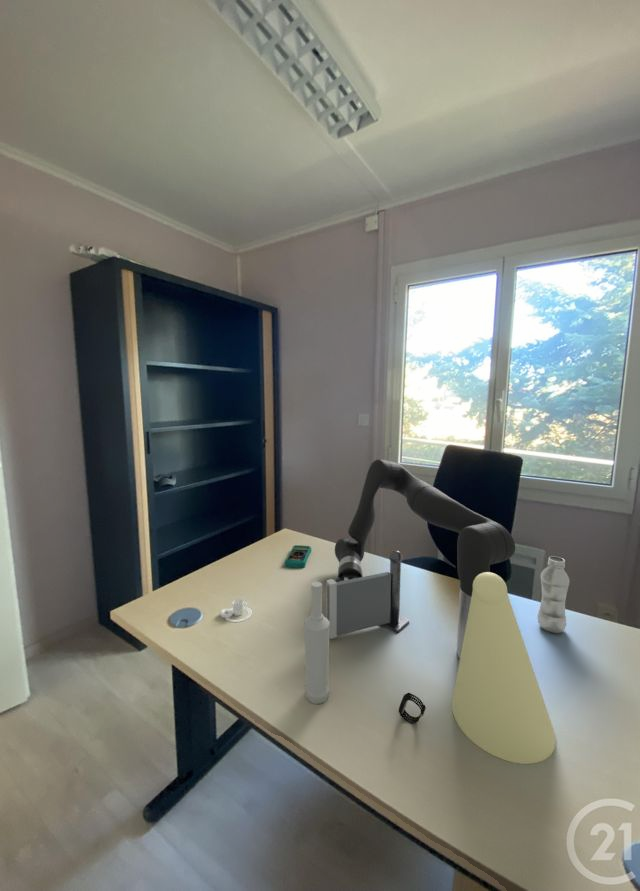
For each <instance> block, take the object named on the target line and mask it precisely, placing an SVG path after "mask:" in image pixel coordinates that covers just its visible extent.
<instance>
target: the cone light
mask: <svg viewBox="0 0 640 891" xmlns="http://www.w3.org/2000/svg"><path fill="white" fill-rule="evenodd" d="M452 695H453V696H452V702H451V710H452V714H453V717H454V719H455V721H456V724H457V726H458V727H459V729H461V731H462V732H463V733H464V735H465V736H467V738H468V739H469V740H470V741H471V742H473V743H474V744H475V745H476V746H478V747H479V748H480V749H481V750H483V751H485V752H486V753H488V754H490V755H492V756H494V757H496V758H498V759H501V760H504V761H506V762H509V763H514V764H524V765H531V764H537V763H541V762H544V761H545V760H548V758H550V756H551V755H552V754H553V753H554V751H555V749H556V744H557V737H556V732H555V730H554V727H553V724H552V720H551V718H550V714H549V712H548V709H547V706H546V702H545V701H544V700H545V699H544V697H543V694H542V691H541V689H540V686H539V682H538V679H537V676H536V673H535V671H534V667H533V665H532V662H531V659H530V656H529V652H528V650H527V648H526V644H525V641H524V639H523V635H522V633H521V630H520V626H519V623H518V621H517V617H516V615H515V612H514V609H513V606H512V604H511V599H510V597H509V595H508V587H507V584H506V582H505V580H504V579H503V578H502V577H501V576H500V575H498V574H496V573H494V572H491V571H490V572H484V573H481V574H479V575H478V576H476V578H475V580H474V581H473V592H472V597H471V603H470V608H469V613H468V619H467V624H466V630H465V635H464V641H463V646H462V651H461V657H460V659H459V662H458V668H457V674H456V680H455V684H454V691H453V694H452Z"/></svg>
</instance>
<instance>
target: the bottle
mask: <svg viewBox="0 0 640 891" xmlns="http://www.w3.org/2000/svg"><path fill="white" fill-rule="evenodd" d="M322 593H323V584H322V582H320V581H314V582H312V583H311V597H312V598H311V611H312V612H311V614H310V616H309V617H307V618H306V619H305V621H304V650H305V685H304V686H305V688H304V691H305V692H304V693H305V697H306V699H307V700H308V701H309V702H310V703H312V704H314V705H319V704H323V703H325V702H327V700H328V698H329V697H330V685H329V665H330V664H329V658H330V638H329V620H328V619H327V617H325V616H324V613H322V612H323V610H322V609H323V607H322V604H323V603H322V601H323V600H322V599H323V596H322V595H323V594H322Z"/></svg>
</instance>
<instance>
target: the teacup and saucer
mask: <svg viewBox="0 0 640 891" xmlns="http://www.w3.org/2000/svg"><path fill="white" fill-rule="evenodd" d="M244 605H246V606H244ZM248 606H249V605H248V602H244V600H243V599H240V598H238V599H234V600H233V601H232V607H231V608H223V609H221V610H220V611H219V616H220V617H222V619H225V620H226V621H227V622H230V623H240V622H244V621H247V620H248V619H249V618H250V617H252V615H253V611H252V609H251V608H250V607H248ZM245 611H247V612H248V613H247V615H246V616H245V617H243V618H240V619H232V617H233V614H234V616H235V617H239V616H242V614H244V612H245Z"/></svg>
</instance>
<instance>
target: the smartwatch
mask: <svg viewBox="0 0 640 891" xmlns="http://www.w3.org/2000/svg"><path fill="white" fill-rule="evenodd" d="M409 701H410V702H413V703H414V704H415V705H416V706H417V707H418V708H419V709H420V714H419V715H418V716H412V715H410V714H409V713H408V712H407V711H406V707H407V704H408V702H409ZM425 711H426V704H424V703H423V701H422V700H421V699H420V698H419V697H418V696H417V695H415V694H412V693H411V692H407V693H404V694H403V696H402V699H401V701H400V704H399V706H398V714H399V716H400V717H401V718H402V719H403V720H404V721H406V722H407V723H410V724H413V725H414V724H416V723H418V722H419V720H420V719H422V717H423V716H424V713H425Z"/></svg>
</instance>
